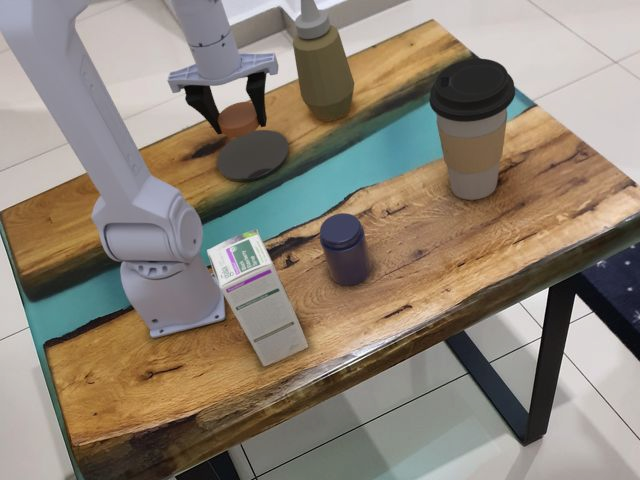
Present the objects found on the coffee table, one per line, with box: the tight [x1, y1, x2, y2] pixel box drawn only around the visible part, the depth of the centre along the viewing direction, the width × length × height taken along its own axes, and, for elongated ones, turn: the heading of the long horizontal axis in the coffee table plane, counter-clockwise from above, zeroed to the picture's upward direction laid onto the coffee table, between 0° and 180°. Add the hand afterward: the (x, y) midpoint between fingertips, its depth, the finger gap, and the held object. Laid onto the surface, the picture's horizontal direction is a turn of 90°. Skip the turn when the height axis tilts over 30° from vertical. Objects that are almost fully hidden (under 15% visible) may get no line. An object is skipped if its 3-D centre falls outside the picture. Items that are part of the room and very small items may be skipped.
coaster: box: [216, 129, 291, 183], centre depth 96 cm, size 11×11×1 cm
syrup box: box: [206, 228, 309, 367], centre depth 69 cm, size 6×6×14 cm
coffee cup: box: [428, 58, 516, 201], centre depth 77 cm, size 9×9×15 cm
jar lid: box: [218, 101, 260, 138], centre depth 91 cm, size 6×6×2 cm
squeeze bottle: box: [292, 0, 355, 122], centre depth 91 cm, size 8×8×18 cm
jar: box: [319, 212, 373, 287], centre depth 76 cm, size 5×5×7 cm
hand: (242, 126), depth 92 cm, fingers closed on jar lid, 6 cm apart
